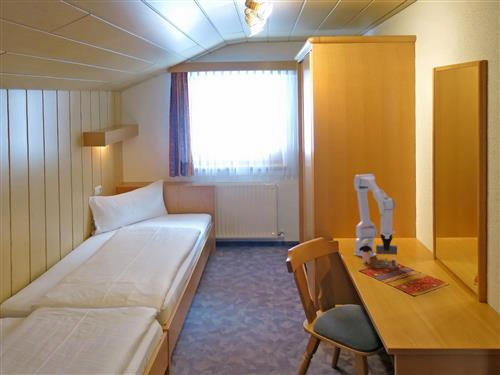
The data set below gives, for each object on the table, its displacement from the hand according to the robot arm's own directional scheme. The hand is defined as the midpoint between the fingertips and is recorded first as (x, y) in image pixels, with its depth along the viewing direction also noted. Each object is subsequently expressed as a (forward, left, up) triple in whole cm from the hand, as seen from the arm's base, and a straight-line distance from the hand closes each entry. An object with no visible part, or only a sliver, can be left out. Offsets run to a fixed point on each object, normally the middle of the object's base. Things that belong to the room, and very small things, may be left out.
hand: (386, 249), depth 265 cm
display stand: (0, 0, -9) cm, 9 cm away
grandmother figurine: (-11, -2, -9) cm, 14 cm away
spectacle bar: (0, 0, -2) cm, 2 cm away
